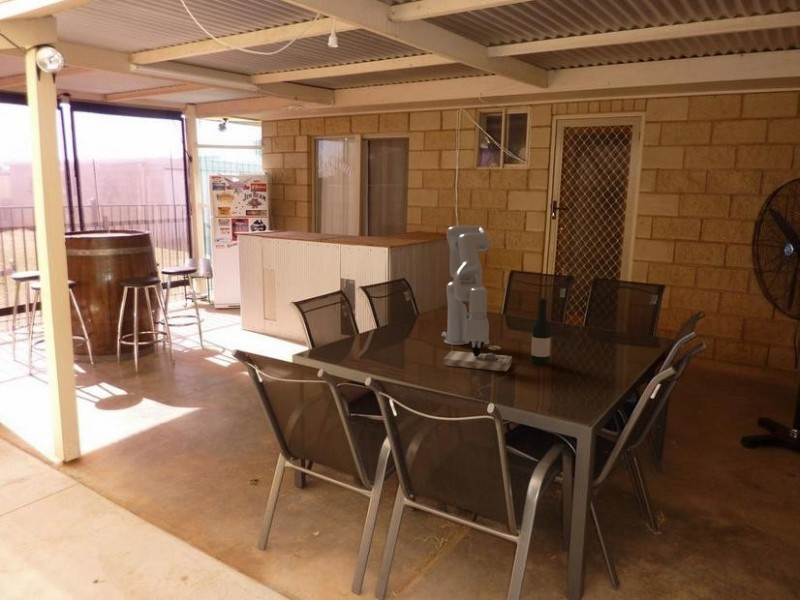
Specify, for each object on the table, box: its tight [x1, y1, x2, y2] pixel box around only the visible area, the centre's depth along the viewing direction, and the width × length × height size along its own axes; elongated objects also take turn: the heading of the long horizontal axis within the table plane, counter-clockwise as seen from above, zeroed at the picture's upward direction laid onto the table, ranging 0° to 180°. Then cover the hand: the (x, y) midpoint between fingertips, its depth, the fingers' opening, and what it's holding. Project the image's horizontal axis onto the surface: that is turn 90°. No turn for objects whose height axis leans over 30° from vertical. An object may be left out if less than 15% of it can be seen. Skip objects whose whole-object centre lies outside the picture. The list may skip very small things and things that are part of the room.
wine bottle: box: [530, 296, 552, 367], centre depth 269 cm, size 8×8×30 cm
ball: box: [485, 352, 496, 361], centre depth 268 cm, size 5×5×5 cm
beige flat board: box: [443, 350, 513, 372], centre depth 270 cm, size 28×14×3 cm, turn 71°
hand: (476, 355), depth 270 cm, fingers closed
